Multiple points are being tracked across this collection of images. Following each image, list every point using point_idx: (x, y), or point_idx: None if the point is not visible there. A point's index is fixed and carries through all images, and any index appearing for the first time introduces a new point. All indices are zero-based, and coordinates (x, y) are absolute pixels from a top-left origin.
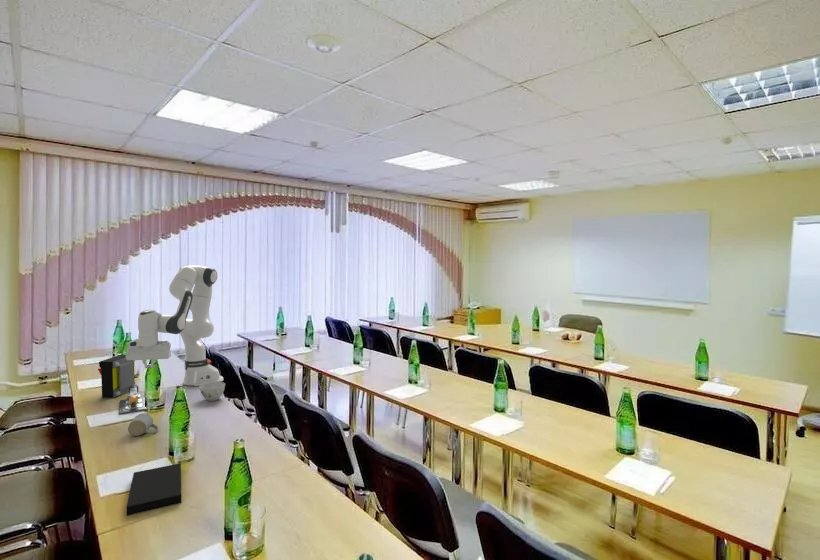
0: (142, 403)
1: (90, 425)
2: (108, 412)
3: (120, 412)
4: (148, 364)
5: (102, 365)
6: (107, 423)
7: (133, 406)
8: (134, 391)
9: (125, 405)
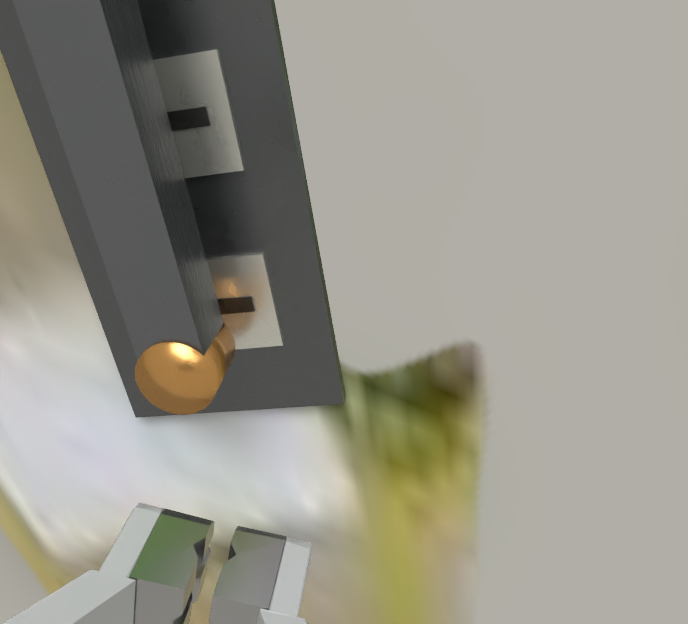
0: (264, 230)
1: (38, 532)
2: (31, 319)
3: (143, 411)
4: (177, 616)
5: None
6: None
7: None
8: (106, 125)
9: None
